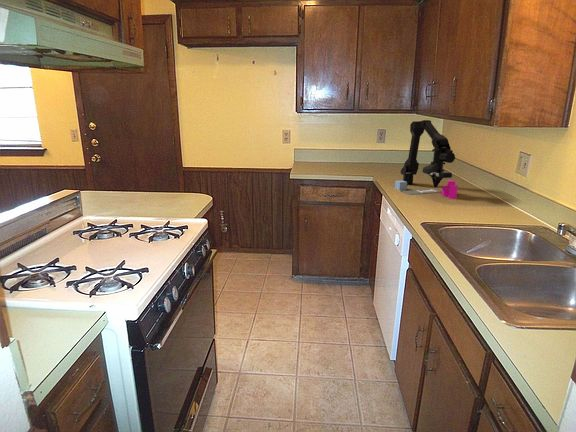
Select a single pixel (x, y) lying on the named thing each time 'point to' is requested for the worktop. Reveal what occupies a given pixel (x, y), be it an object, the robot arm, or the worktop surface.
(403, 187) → the slate blue cube
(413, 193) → the letter mat
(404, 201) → the worktop surface
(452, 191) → the toy block
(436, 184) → the robot arm
